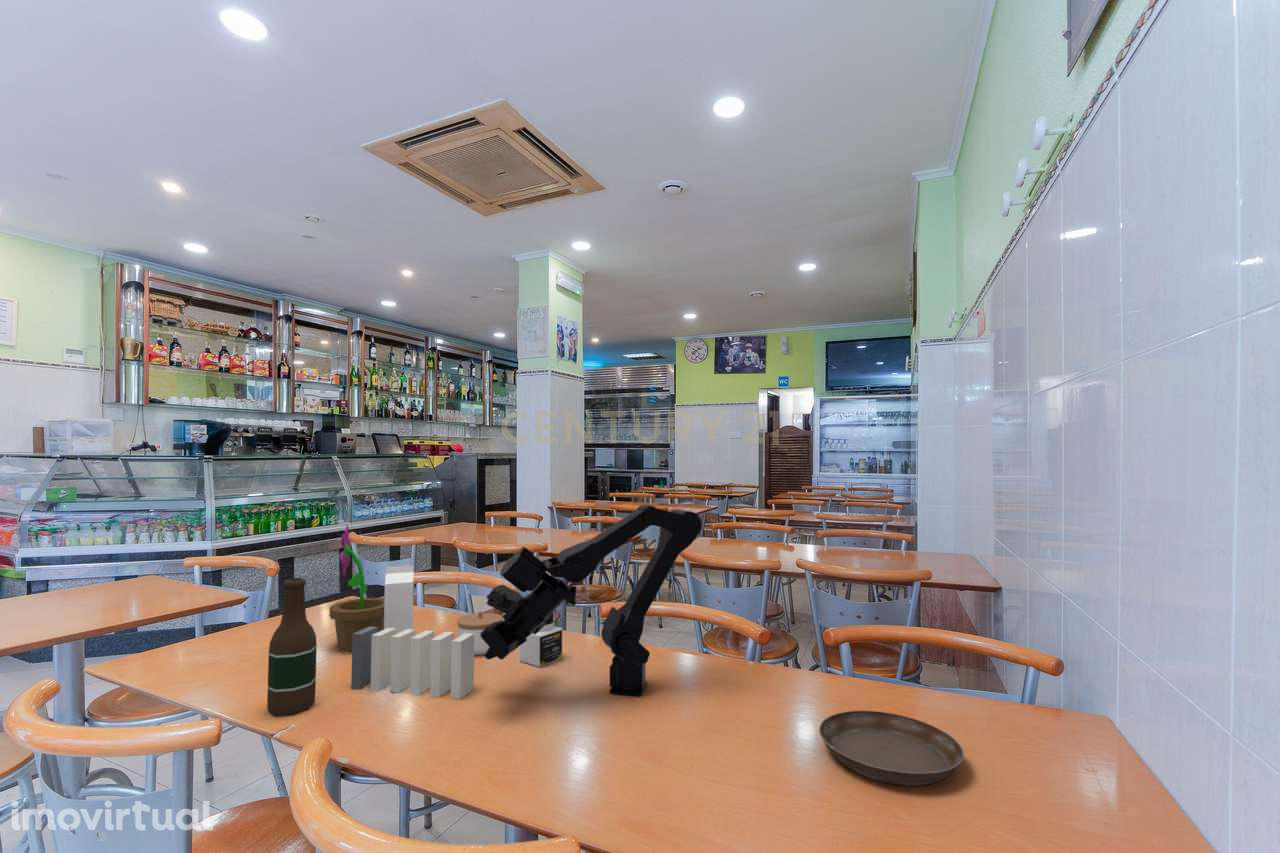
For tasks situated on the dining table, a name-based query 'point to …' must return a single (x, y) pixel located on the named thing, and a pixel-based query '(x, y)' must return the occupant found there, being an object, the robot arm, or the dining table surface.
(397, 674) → the domino
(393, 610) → the milk
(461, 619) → the lidded jar
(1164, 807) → the dining table surface
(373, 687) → the domino
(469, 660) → the domino
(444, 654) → the domino
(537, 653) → the medicine bottle
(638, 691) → the robot arm
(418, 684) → the domino
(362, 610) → the flowerpot
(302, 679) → the beer bottle
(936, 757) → the plant saucer
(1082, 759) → the dining table surface
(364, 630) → the domino
